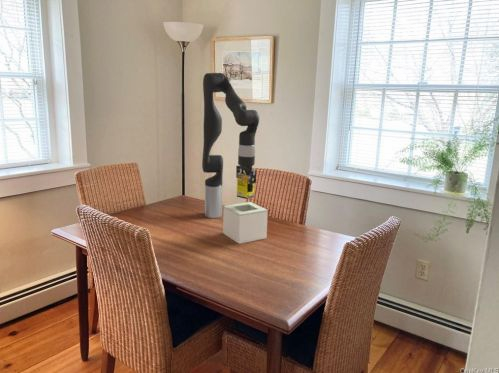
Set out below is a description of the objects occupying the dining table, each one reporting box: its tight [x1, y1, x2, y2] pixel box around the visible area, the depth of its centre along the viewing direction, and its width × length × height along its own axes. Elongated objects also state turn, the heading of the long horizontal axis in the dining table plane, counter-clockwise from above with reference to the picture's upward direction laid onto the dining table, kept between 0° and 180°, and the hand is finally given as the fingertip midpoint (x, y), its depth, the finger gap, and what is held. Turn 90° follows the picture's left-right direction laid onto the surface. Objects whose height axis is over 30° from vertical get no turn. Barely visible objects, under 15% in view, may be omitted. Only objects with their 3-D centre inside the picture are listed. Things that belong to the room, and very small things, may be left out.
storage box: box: [222, 201, 269, 245], centre depth 194 cm, size 15×15×14 cm
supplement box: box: [236, 173, 255, 200], centre depth 190 cm, size 6×6×11 cm
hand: (245, 189), depth 190 cm, fingers closed on supplement box, 7 cm apart
